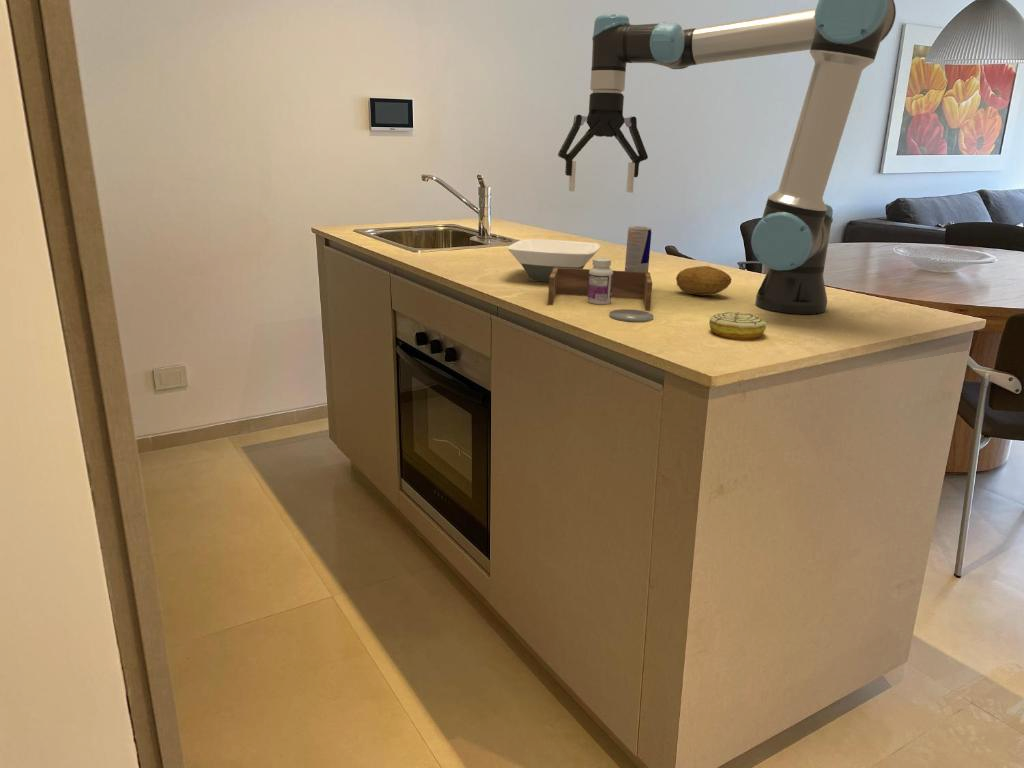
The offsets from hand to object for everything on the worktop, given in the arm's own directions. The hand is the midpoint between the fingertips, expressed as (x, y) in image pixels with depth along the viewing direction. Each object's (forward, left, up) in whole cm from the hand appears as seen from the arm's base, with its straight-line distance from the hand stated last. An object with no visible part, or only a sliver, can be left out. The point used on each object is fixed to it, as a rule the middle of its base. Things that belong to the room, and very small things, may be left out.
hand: (600, 191), depth 176 cm
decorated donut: (-43, +8, -24) cm, 50 cm away
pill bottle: (-9, +8, -24) cm, 26 cm away
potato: (-17, -19, -24) cm, 35 cm away
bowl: (+18, -4, -24) cm, 30 cm away
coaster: (-22, +14, -23) cm, 35 cm away
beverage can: (-3, -11, -23) cm, 26 cm away
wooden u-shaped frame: (-8, +8, -23) cm, 26 cm away
